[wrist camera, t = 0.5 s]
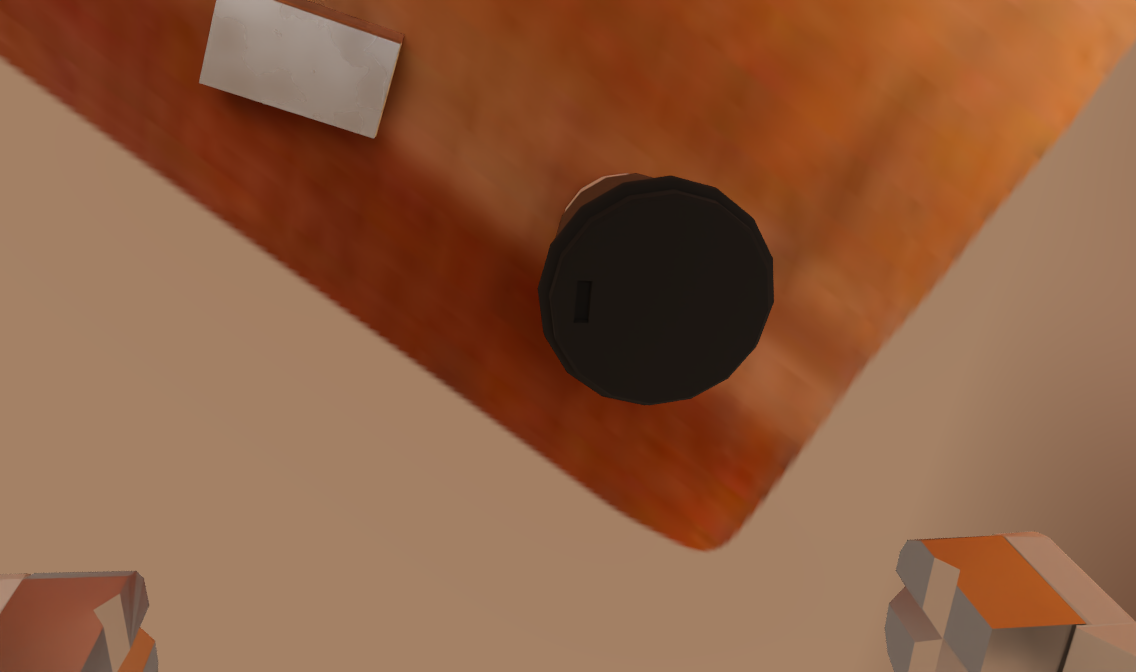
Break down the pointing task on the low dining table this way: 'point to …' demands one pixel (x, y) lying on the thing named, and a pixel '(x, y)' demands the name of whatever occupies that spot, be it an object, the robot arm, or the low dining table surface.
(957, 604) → the robot arm
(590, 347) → the coffee cup
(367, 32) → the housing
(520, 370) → the low dining table surface
